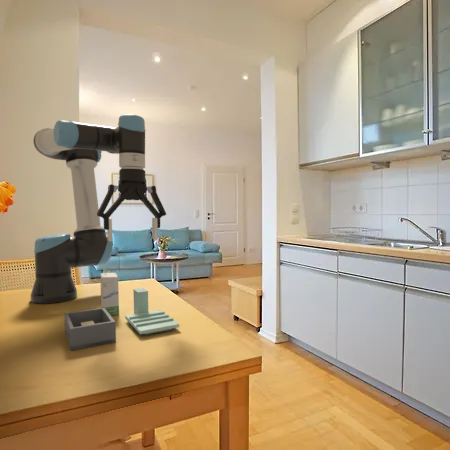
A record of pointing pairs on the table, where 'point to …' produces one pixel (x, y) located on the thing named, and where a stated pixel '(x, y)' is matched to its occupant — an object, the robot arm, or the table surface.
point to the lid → (148, 316)
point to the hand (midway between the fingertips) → (133, 240)
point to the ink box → (110, 293)
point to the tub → (89, 328)
